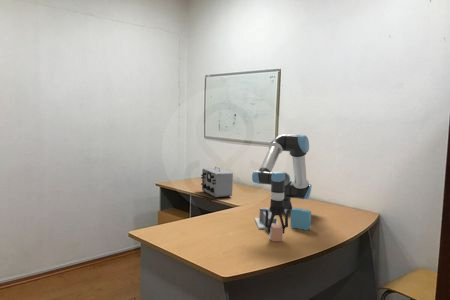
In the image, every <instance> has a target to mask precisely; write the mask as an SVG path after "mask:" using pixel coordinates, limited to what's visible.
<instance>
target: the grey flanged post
mask: <svg viewBox="0 0 450 300" xmlns="http://www.w3.org/2000/svg"><path fill="white" fill-rule="evenodd" d="M269 208H270V207H259V212H258V215H259V217H255V218H254V221H255V224H256V226H257V228H258V230H265V231H266V232H268V227H265V215H266V213H265V209H269ZM271 214H272V213H271V211H269V213H268V224H269V221H270V218H271ZM272 223H279V222H278V220H277V217H276V216H275V217H274V219H273V222H272Z"/></svg>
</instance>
